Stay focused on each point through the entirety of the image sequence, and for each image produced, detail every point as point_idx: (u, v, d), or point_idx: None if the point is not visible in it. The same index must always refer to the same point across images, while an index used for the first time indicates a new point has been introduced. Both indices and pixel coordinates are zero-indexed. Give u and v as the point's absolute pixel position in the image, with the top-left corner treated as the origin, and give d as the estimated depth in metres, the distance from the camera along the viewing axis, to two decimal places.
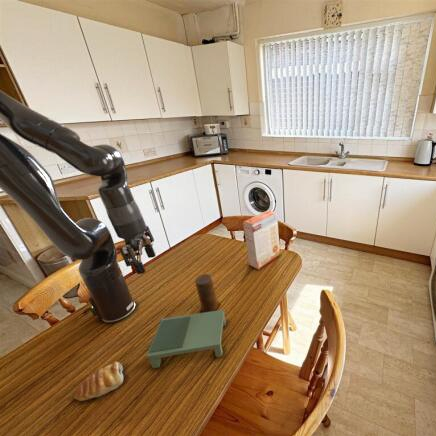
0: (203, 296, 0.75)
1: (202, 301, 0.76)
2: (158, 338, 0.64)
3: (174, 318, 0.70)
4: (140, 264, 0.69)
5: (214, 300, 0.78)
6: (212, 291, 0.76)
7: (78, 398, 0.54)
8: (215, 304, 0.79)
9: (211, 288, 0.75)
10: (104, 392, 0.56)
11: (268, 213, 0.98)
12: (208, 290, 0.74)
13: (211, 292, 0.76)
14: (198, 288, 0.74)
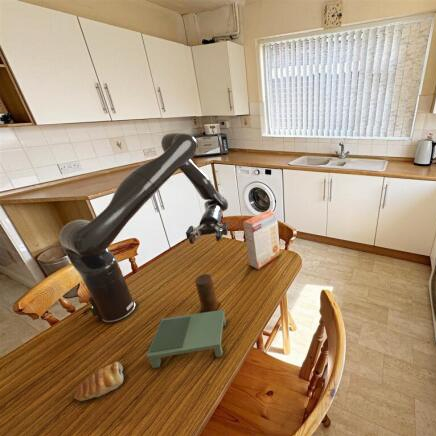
0: (203, 296, 0.75)
1: (202, 301, 0.76)
2: (158, 338, 0.64)
3: (174, 318, 0.70)
4: None
5: (214, 300, 0.78)
6: (212, 291, 0.76)
7: (78, 398, 0.54)
8: (215, 304, 0.79)
9: (211, 288, 0.75)
10: (104, 392, 0.56)
11: (268, 213, 0.98)
12: (208, 290, 0.74)
13: (211, 292, 0.76)
14: (198, 288, 0.74)
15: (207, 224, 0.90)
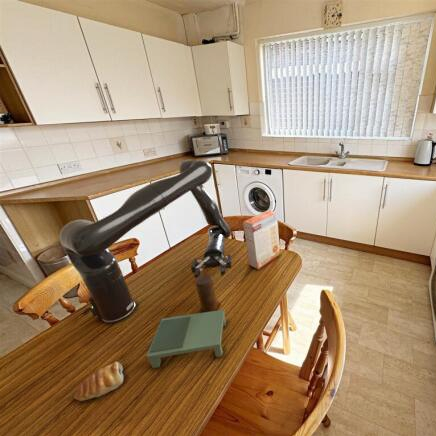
0: (203, 296, 0.75)
1: (202, 301, 0.76)
2: (158, 338, 0.64)
3: (174, 318, 0.70)
4: None
5: (214, 300, 0.78)
6: (212, 291, 0.76)
7: (78, 398, 0.54)
8: (215, 304, 0.79)
9: (211, 288, 0.75)
10: (104, 392, 0.56)
11: (268, 213, 0.98)
12: (208, 290, 0.74)
13: (211, 292, 0.76)
14: (198, 288, 0.74)
15: (211, 256, 0.93)
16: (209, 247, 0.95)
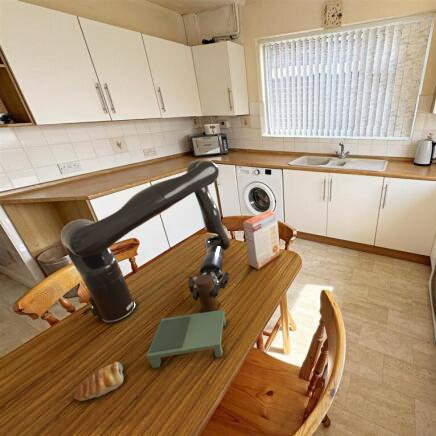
0: (203, 296, 0.75)
1: (202, 301, 0.76)
2: (158, 338, 0.64)
3: (174, 318, 0.70)
4: None
5: (214, 300, 0.78)
6: (212, 291, 0.76)
7: (78, 398, 0.54)
8: (215, 304, 0.79)
9: (211, 288, 0.75)
10: (104, 392, 0.56)
11: (268, 213, 0.98)
12: (208, 290, 0.74)
13: (211, 292, 0.76)
14: (198, 288, 0.74)
15: (208, 272, 0.84)
16: (205, 262, 0.86)
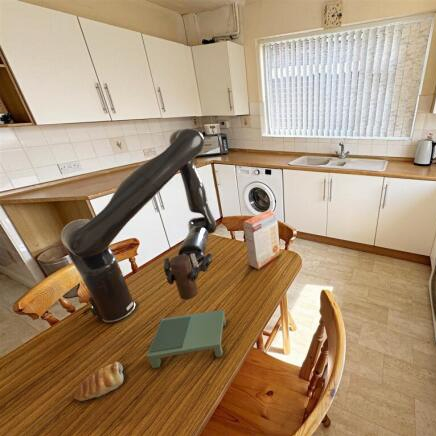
0: (179, 279, 0.64)
1: (178, 285, 0.65)
2: (158, 338, 0.64)
3: (174, 318, 0.70)
4: None
5: (193, 284, 0.67)
6: None
7: (78, 398, 0.54)
8: (194, 289, 0.68)
9: (188, 270, 0.65)
10: (104, 392, 0.56)
11: (268, 213, 0.98)
12: (184, 271, 0.64)
13: (189, 275, 0.65)
14: (173, 270, 0.63)
15: (188, 254, 0.74)
16: (185, 242, 0.75)
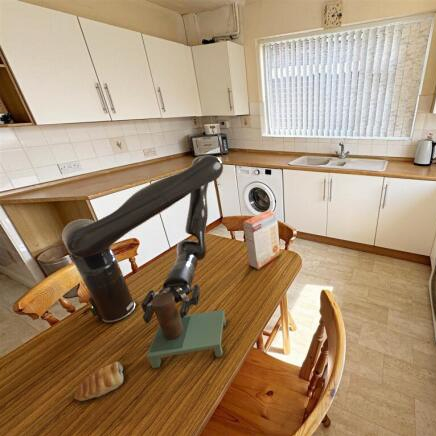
0: (162, 320, 0.60)
1: (162, 326, 0.61)
2: (158, 338, 0.64)
3: None
4: None
5: (178, 324, 0.63)
6: (174, 313, 0.62)
7: (78, 398, 0.54)
8: (179, 329, 0.64)
9: (172, 310, 0.61)
10: (104, 392, 0.56)
11: (268, 213, 0.98)
12: (168, 312, 0.60)
13: (173, 315, 0.61)
14: (155, 311, 0.59)
15: (173, 287, 0.69)
16: (171, 274, 0.71)
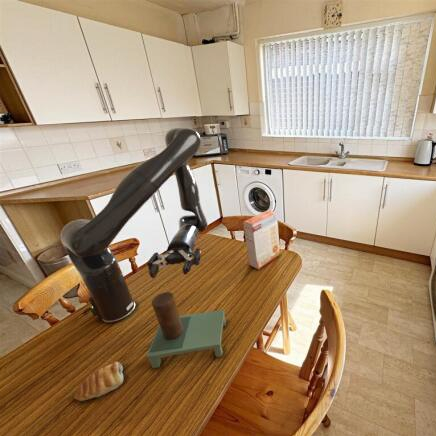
0: (162, 320, 0.60)
1: (162, 326, 0.61)
2: (158, 338, 0.64)
3: None
4: None
5: (178, 324, 0.63)
6: (174, 313, 0.62)
7: (78, 398, 0.54)
8: (179, 329, 0.64)
9: (172, 310, 0.61)
10: (104, 392, 0.56)
11: (268, 213, 0.98)
12: (168, 312, 0.60)
13: (173, 315, 0.61)
14: (155, 311, 0.59)
15: (176, 250, 0.75)
16: (174, 239, 0.77)
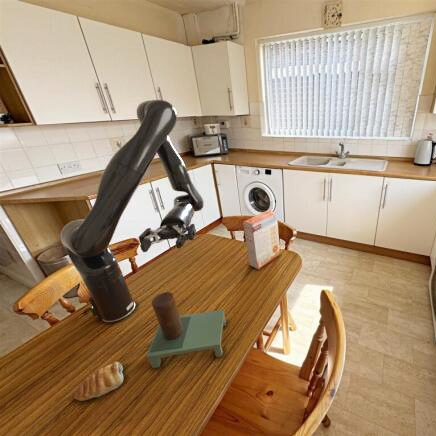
0: (162, 320, 0.60)
1: (162, 326, 0.61)
2: (158, 338, 0.64)
3: None
4: None
5: (178, 324, 0.63)
6: (174, 313, 0.62)
7: (78, 398, 0.54)
8: (179, 329, 0.64)
9: (172, 310, 0.61)
10: (104, 392, 0.56)
11: (268, 213, 0.98)
12: (168, 312, 0.60)
13: (173, 315, 0.61)
14: (155, 311, 0.59)
15: (169, 226, 0.71)
16: (167, 215, 0.73)
